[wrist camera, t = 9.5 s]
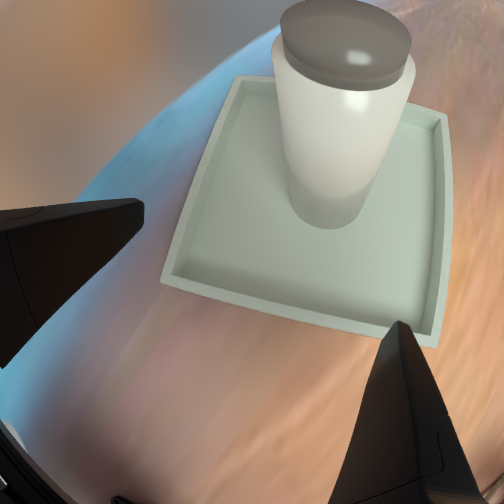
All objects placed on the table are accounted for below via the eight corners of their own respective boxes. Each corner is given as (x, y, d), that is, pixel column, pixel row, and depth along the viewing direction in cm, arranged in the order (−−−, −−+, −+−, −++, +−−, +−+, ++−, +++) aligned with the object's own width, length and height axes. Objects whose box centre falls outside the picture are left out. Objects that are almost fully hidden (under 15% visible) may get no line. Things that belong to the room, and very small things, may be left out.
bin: (420, 346, 16) (437, 348, 13) (175, 288, 19) (159, 282, 17) (436, 133, 19) (446, 114, 17) (242, 95, 22) (236, 74, 20)
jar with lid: (375, 217, 17) (454, 66, 6) (302, 239, 18) (300, 83, 6) (346, 153, 19) (372, -9, 7) (279, 171, 19) (249, 4, 7)
